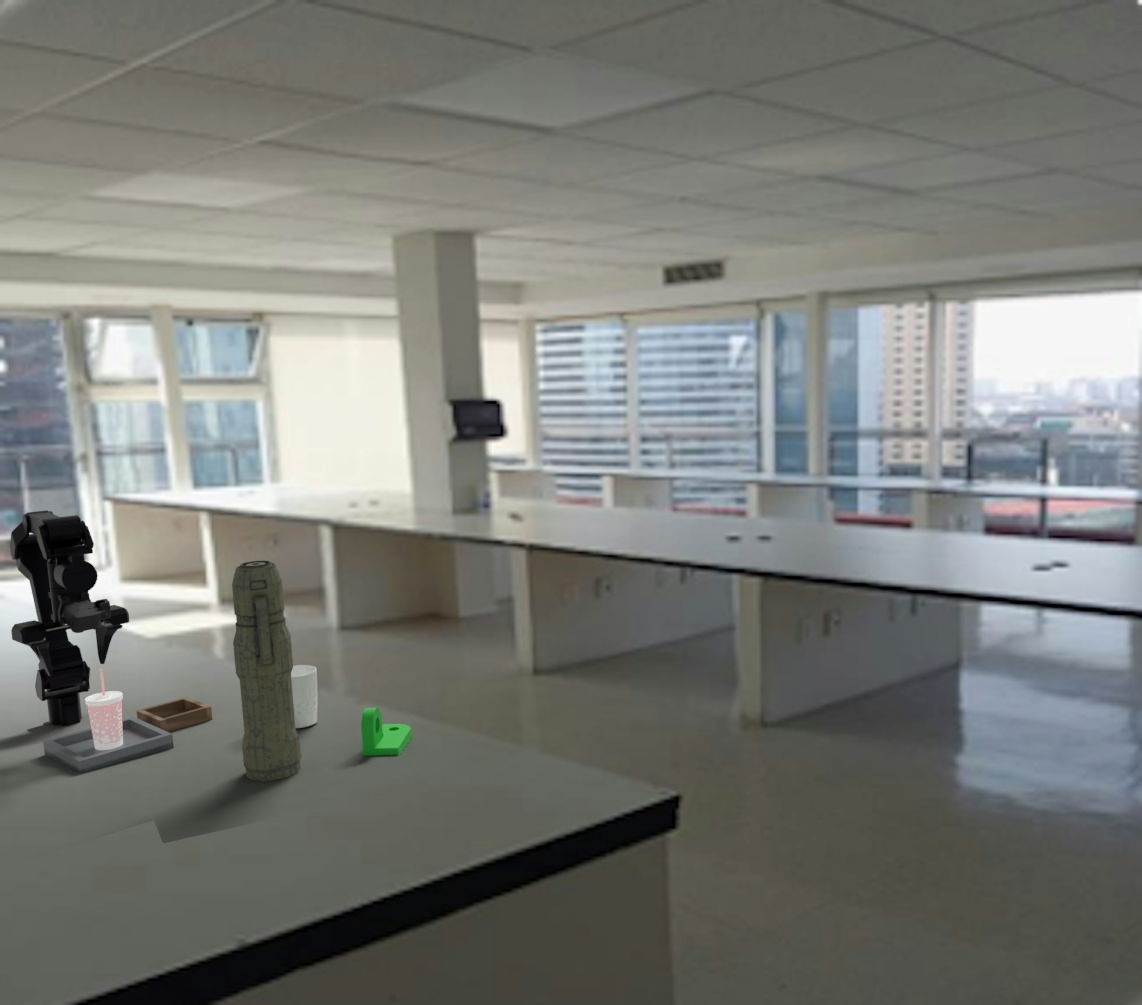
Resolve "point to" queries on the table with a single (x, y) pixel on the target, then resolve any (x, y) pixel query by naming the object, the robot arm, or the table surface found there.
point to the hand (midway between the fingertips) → (76, 669)
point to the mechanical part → (382, 734)
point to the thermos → (264, 673)
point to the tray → (84, 756)
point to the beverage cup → (106, 717)
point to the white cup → (304, 695)
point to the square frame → (191, 708)
